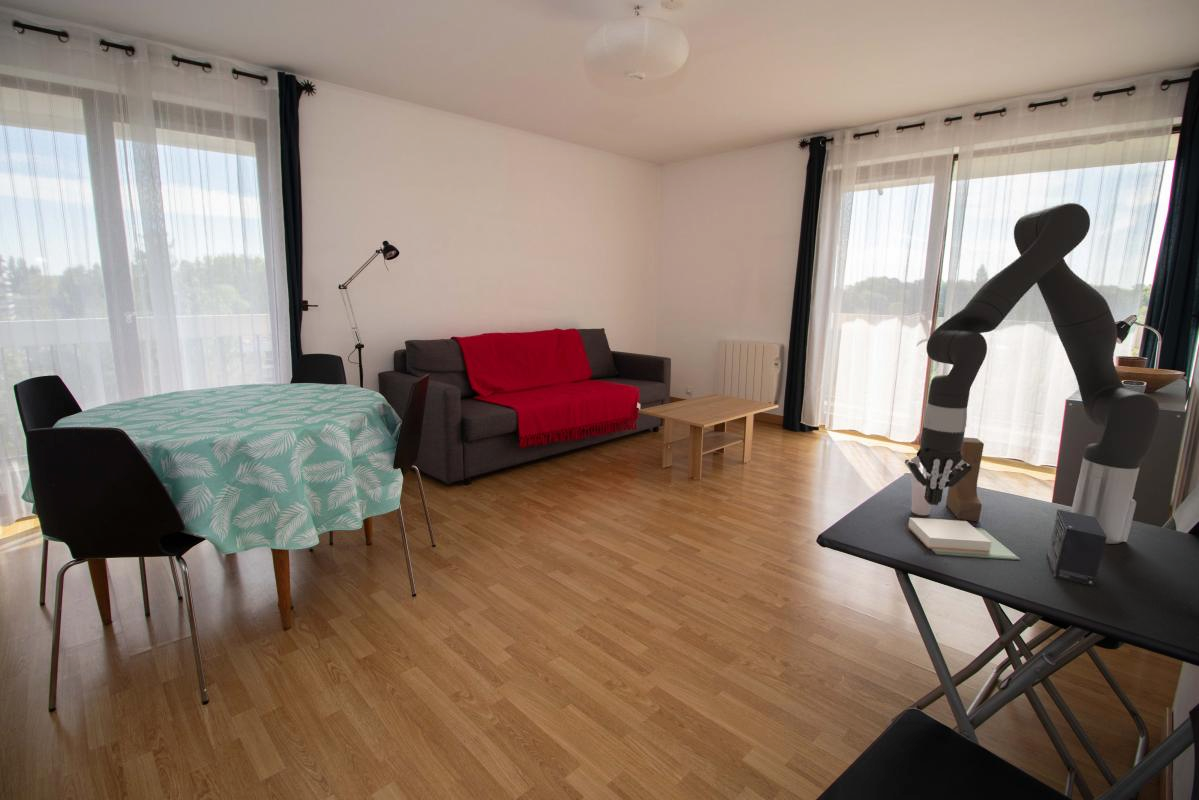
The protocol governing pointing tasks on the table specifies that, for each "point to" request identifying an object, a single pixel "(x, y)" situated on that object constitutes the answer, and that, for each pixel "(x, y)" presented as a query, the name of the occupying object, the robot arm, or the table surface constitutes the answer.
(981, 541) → the tile
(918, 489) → the smoothie
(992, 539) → the mat
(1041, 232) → the robot arm
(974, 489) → the wooden block
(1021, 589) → the table surface
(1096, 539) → the small box
